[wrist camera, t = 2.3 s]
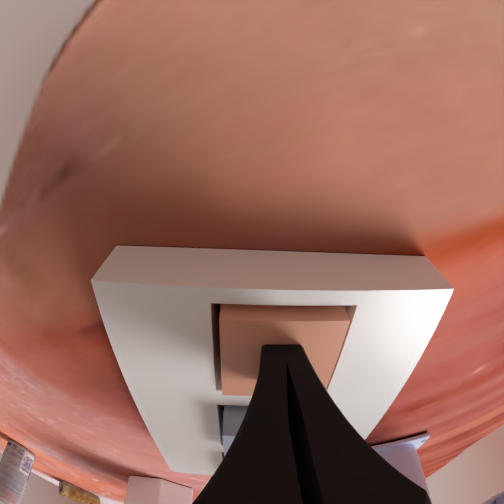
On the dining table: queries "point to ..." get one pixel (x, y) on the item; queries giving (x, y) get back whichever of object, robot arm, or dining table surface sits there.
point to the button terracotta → (277, 339)
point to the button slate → (232, 423)
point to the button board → (257, 293)
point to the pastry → (77, 493)
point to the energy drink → (14, 472)
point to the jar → (156, 491)
